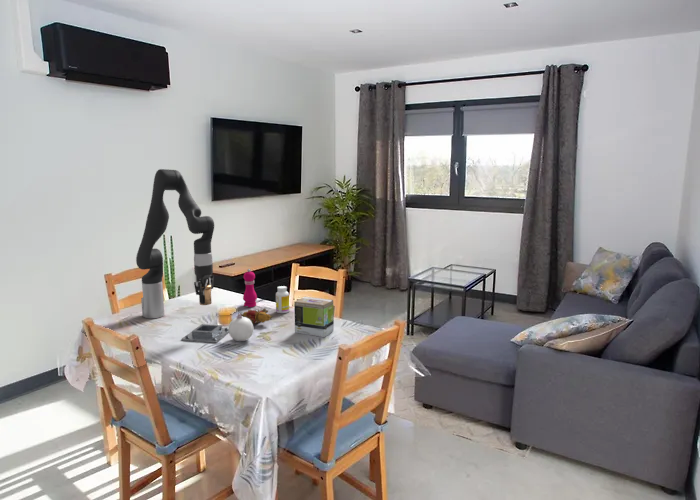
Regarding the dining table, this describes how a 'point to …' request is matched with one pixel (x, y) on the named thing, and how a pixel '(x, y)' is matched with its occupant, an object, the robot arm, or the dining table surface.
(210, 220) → the robot arm
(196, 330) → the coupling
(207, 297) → the round knob
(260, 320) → the scarecrow
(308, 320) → the tea box
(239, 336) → the ornament
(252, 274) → the pepper mill
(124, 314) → the dining table surface
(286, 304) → the supplement bottle
